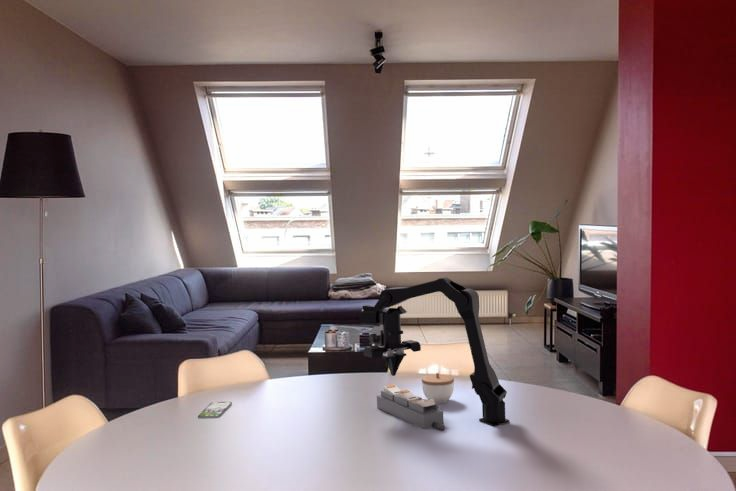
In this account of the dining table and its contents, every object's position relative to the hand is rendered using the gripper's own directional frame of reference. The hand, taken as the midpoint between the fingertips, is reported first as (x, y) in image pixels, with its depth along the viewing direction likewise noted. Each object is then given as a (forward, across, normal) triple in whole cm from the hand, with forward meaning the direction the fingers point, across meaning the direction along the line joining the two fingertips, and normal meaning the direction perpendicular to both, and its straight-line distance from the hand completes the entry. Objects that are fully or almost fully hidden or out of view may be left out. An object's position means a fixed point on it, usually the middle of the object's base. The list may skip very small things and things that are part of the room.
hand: (393, 375), depth 193 cm
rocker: (+5, 0, 0) cm, 5 cm away
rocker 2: (+5, 0, +8) cm, 10 cm away
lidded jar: (+11, -17, +1) cm, 21 cm away
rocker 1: (+5, 0, +16) cm, 17 cm away
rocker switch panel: (+11, 0, +10) cm, 15 cm away
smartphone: (+12, +48, -35) cm, 61 cm away
